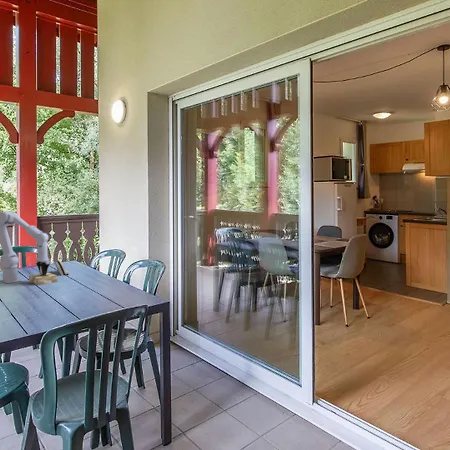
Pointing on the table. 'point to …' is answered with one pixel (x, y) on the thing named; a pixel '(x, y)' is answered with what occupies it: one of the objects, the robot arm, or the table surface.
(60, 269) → the grey stapler
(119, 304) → the table surface
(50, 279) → the knuckle block
